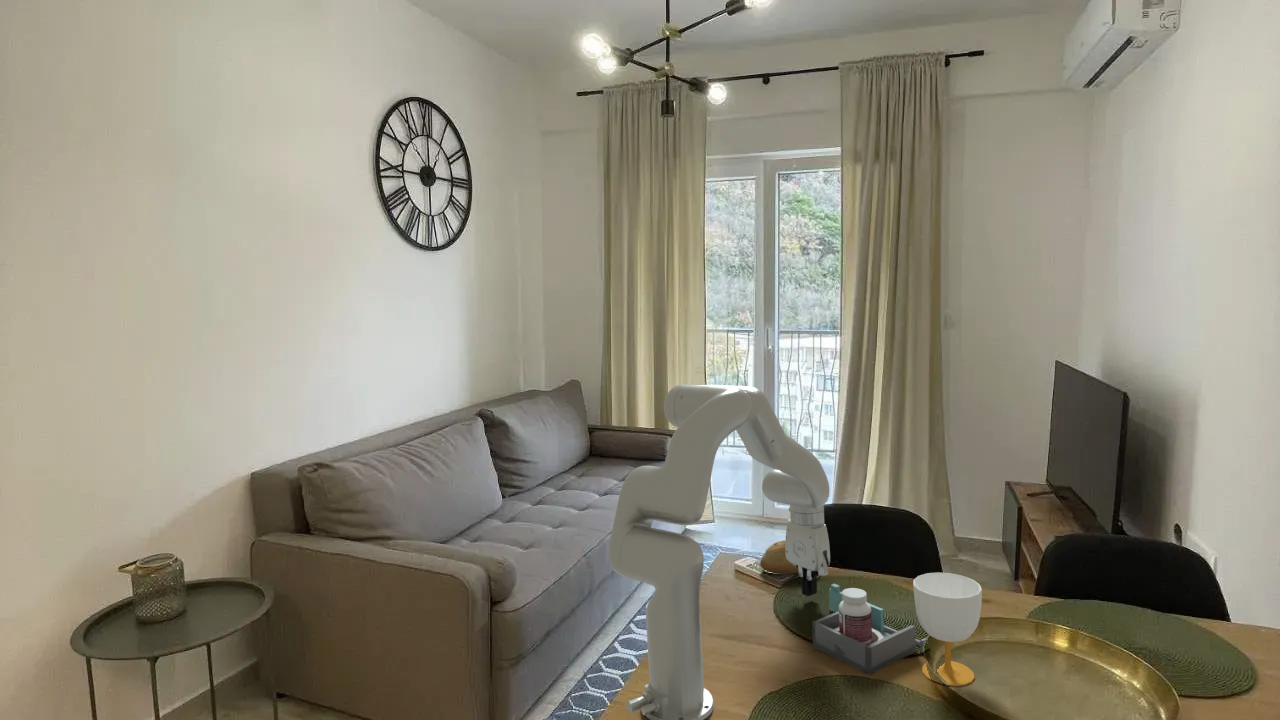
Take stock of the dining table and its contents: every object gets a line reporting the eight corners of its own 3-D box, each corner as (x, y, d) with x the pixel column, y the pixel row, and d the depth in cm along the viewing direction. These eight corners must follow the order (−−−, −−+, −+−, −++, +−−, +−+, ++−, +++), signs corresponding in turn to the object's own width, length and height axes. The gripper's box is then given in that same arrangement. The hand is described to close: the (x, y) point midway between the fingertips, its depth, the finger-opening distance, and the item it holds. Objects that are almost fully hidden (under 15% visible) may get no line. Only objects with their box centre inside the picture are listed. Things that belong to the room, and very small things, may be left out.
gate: (880, 633, 153) (879, 604, 153) (828, 610, 165) (828, 584, 164) (884, 631, 154) (883, 603, 153) (832, 609, 166) (831, 582, 165)
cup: (941, 696, 130) (940, 603, 128) (901, 664, 141) (899, 578, 139) (997, 683, 133) (997, 592, 131) (953, 652, 144) (952, 568, 142)
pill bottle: (879, 647, 145) (877, 593, 144) (858, 657, 142) (856, 602, 141) (854, 635, 151) (852, 583, 149) (833, 645, 147) (831, 592, 146)
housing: (874, 677, 137) (873, 651, 136) (809, 644, 150) (808, 620, 150) (930, 648, 146) (930, 623, 146) (864, 620, 160) (864, 597, 159)
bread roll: (824, 579, 182) (823, 547, 182) (763, 581, 183) (761, 549, 182) (816, 564, 192) (815, 534, 191) (758, 566, 193) (757, 536, 192)
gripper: (772, 512, 173) (774, 588, 174) (820, 528, 160) (822, 609, 162) (795, 505, 177) (797, 579, 179) (844, 520, 164) (846, 599, 166)
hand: (809, 593), depth 170 cm, fingers closed
